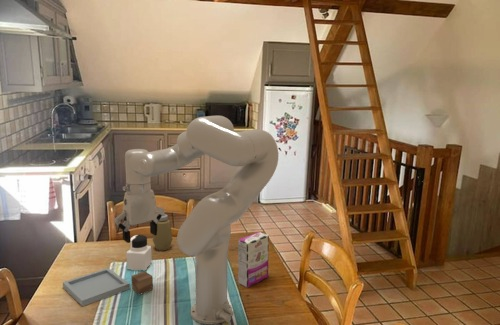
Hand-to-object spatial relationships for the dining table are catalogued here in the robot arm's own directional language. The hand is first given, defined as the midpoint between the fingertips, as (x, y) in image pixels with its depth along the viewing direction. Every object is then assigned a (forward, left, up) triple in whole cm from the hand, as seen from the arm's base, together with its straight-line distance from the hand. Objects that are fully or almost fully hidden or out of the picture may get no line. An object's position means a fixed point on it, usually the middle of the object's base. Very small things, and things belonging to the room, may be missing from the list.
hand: (140, 237), depth 131 cm
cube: (0, 0, -18) cm, 18 cm away
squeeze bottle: (+25, -24, -19) cm, 39 cm away
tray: (+11, +11, -18) cm, 24 cm away
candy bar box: (-21, -32, -19) cm, 42 cm away
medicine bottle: (+16, -8, -19) cm, 25 cm away
